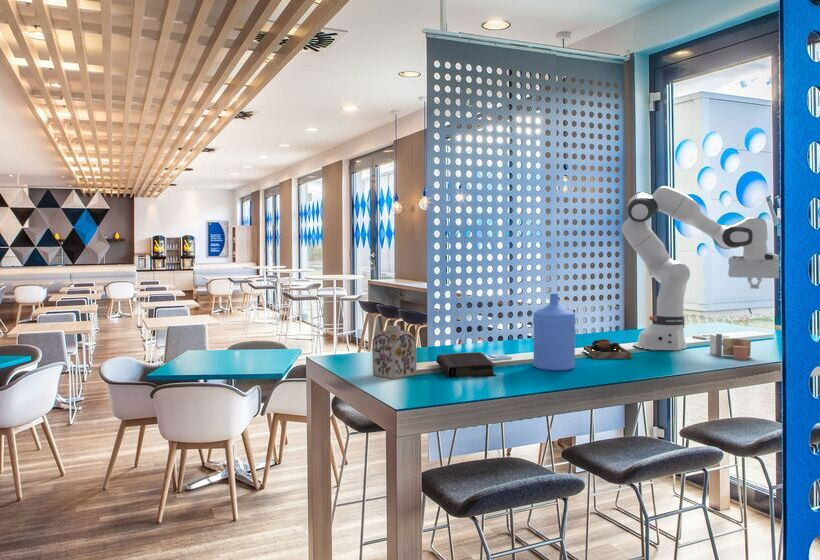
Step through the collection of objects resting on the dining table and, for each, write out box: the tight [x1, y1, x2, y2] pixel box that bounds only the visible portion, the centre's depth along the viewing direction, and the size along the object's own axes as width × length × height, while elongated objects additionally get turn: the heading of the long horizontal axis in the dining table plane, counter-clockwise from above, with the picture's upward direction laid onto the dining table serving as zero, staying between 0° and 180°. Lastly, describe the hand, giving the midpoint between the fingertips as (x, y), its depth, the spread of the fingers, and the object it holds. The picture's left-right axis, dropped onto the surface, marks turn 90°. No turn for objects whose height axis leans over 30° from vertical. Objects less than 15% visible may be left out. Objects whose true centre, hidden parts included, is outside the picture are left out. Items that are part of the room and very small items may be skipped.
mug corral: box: [583, 345, 633, 360], centre depth 266 cm, size 15×17×2 cm
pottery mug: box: [591, 338, 622, 352], centre depth 263 cm, size 12×10×8 cm
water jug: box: [532, 293, 576, 372], centre depth 241 cm, size 16×16×28 cm
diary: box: [435, 351, 497, 379], centre depth 237 cm, size 19×25×5 cm
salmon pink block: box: [732, 345, 749, 361], centre depth 255 cm, size 4×4×5 cm
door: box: [722, 337, 752, 358], centre depth 259 cm, size 10×2×7 cm, turn 64°
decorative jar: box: [372, 325, 418, 381], centre depth 229 cm, size 12×12×18 cm
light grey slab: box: [709, 333, 723, 357], centre depth 264 cm, size 2×8×9 cm, turn 178°
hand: (754, 288), depth 267 cm, fingers closed
